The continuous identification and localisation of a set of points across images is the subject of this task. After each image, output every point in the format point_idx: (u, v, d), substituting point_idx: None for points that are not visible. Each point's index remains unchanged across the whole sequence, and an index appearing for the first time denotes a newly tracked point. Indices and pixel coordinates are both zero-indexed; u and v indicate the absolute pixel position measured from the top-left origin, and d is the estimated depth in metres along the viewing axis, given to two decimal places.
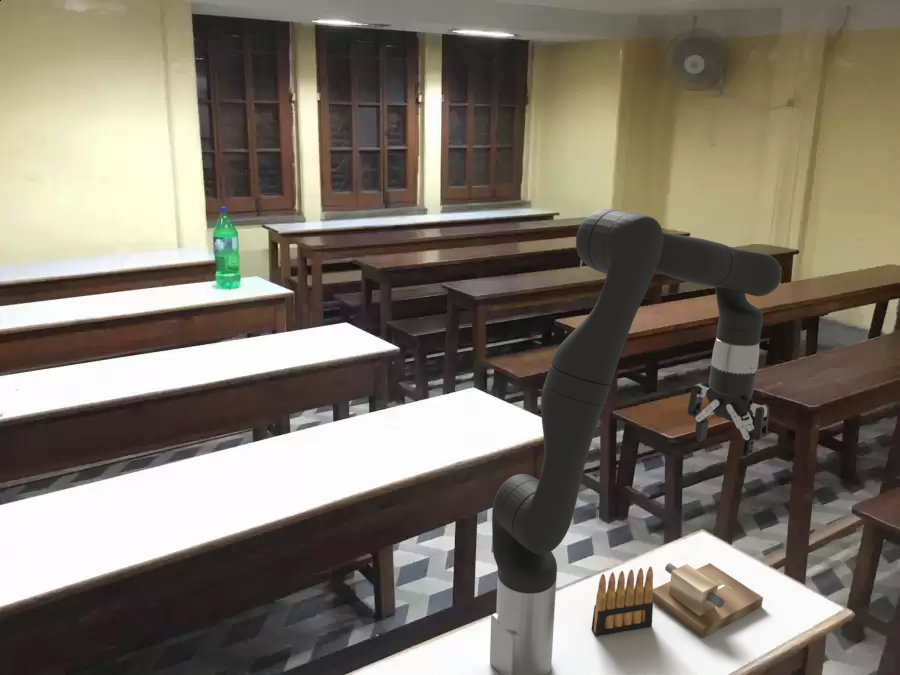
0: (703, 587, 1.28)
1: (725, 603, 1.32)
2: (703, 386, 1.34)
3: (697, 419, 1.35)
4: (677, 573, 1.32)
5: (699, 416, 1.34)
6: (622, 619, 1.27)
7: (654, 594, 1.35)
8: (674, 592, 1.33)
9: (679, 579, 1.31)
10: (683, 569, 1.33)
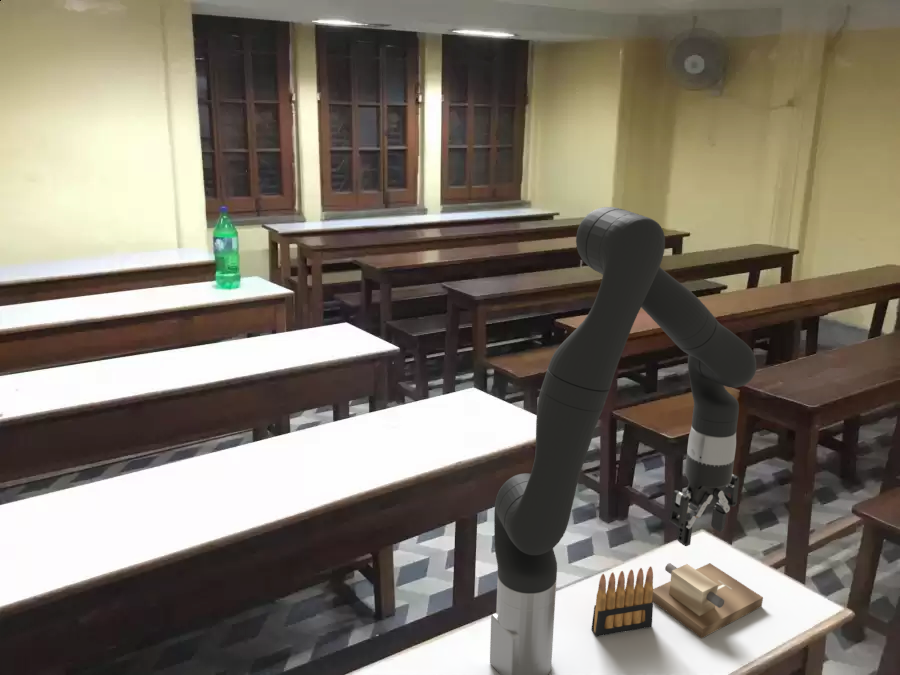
0: (703, 587, 1.28)
1: (725, 603, 1.32)
2: (683, 492, 1.22)
3: (689, 526, 1.23)
4: (677, 573, 1.32)
5: (690, 522, 1.23)
6: (622, 619, 1.27)
7: (654, 594, 1.35)
8: (674, 592, 1.33)
9: (679, 579, 1.31)
10: (683, 569, 1.33)
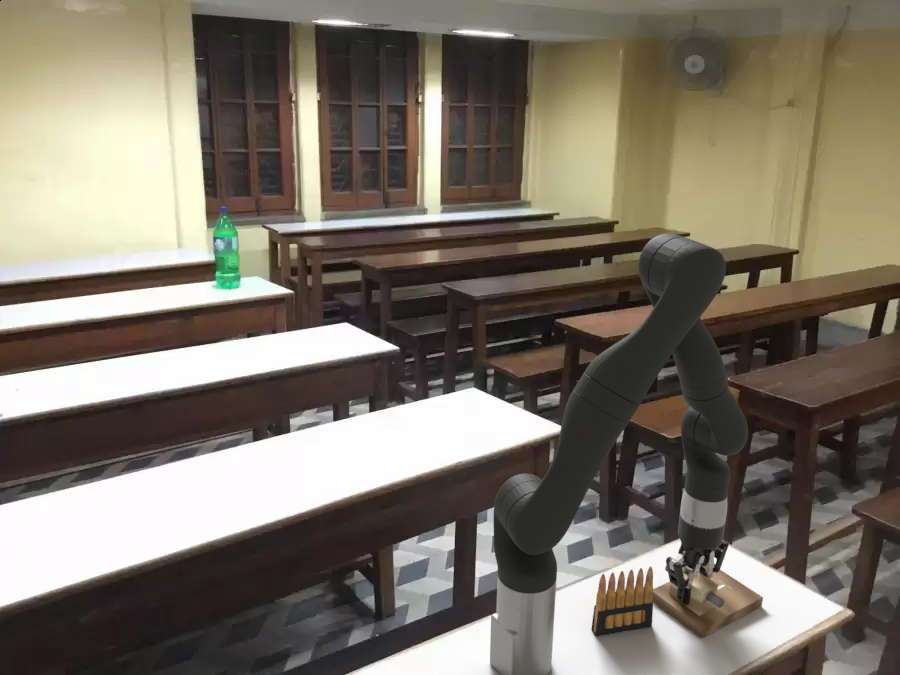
0: (703, 587, 1.28)
1: (725, 603, 1.32)
2: (675, 558, 1.27)
3: (689, 587, 1.28)
4: None
5: (690, 583, 1.28)
6: (622, 619, 1.27)
7: (654, 594, 1.35)
8: (674, 592, 1.33)
9: None
10: None
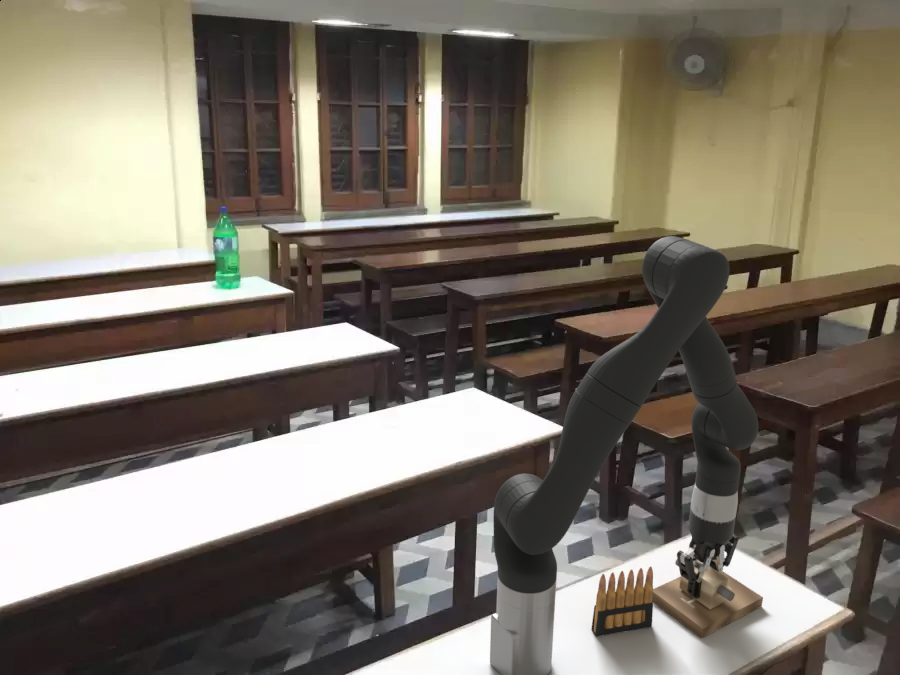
0: (713, 581, 1.29)
1: (725, 603, 1.32)
2: (685, 551, 1.28)
3: (699, 580, 1.30)
4: None
5: (700, 576, 1.30)
6: (622, 619, 1.27)
7: (654, 594, 1.35)
8: (685, 586, 1.34)
9: None
10: None
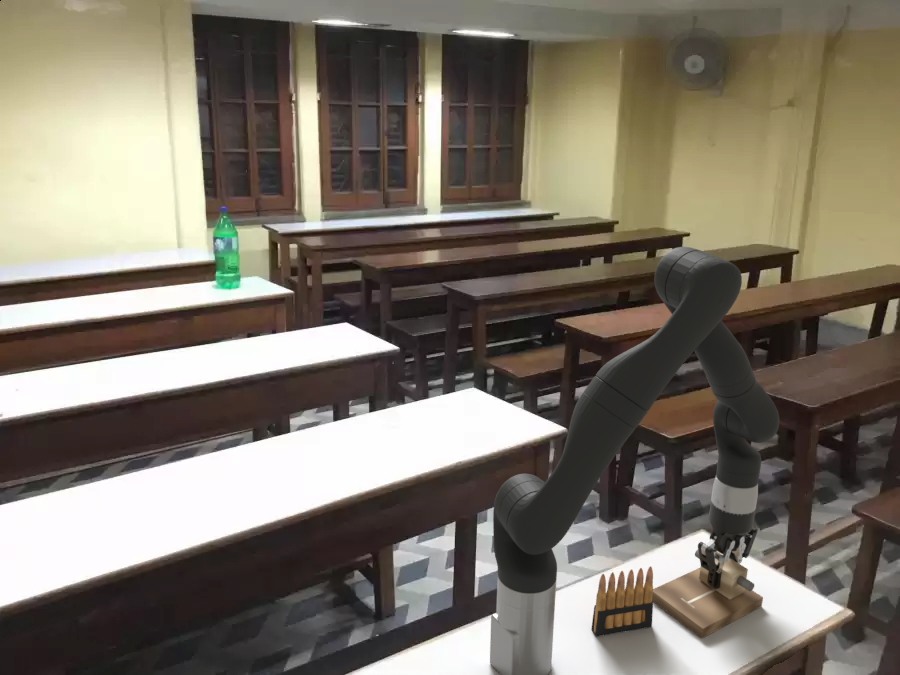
0: (733, 571, 1.32)
1: (725, 603, 1.32)
2: (706, 543, 1.30)
3: (719, 571, 1.32)
4: None
5: (721, 567, 1.32)
6: (622, 619, 1.27)
7: (654, 594, 1.35)
8: (705, 577, 1.37)
9: None
10: None
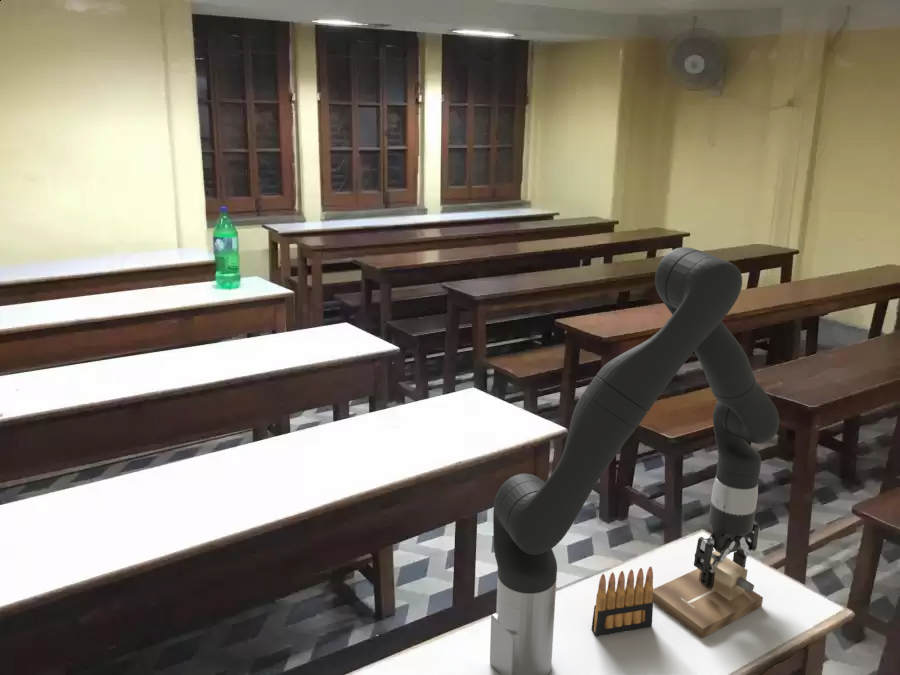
0: (733, 573, 1.32)
1: (725, 603, 1.32)
2: (707, 539, 1.30)
3: (712, 571, 1.31)
4: None
5: (714, 567, 1.31)
6: (622, 619, 1.27)
7: (654, 594, 1.35)
8: None
9: None
10: None
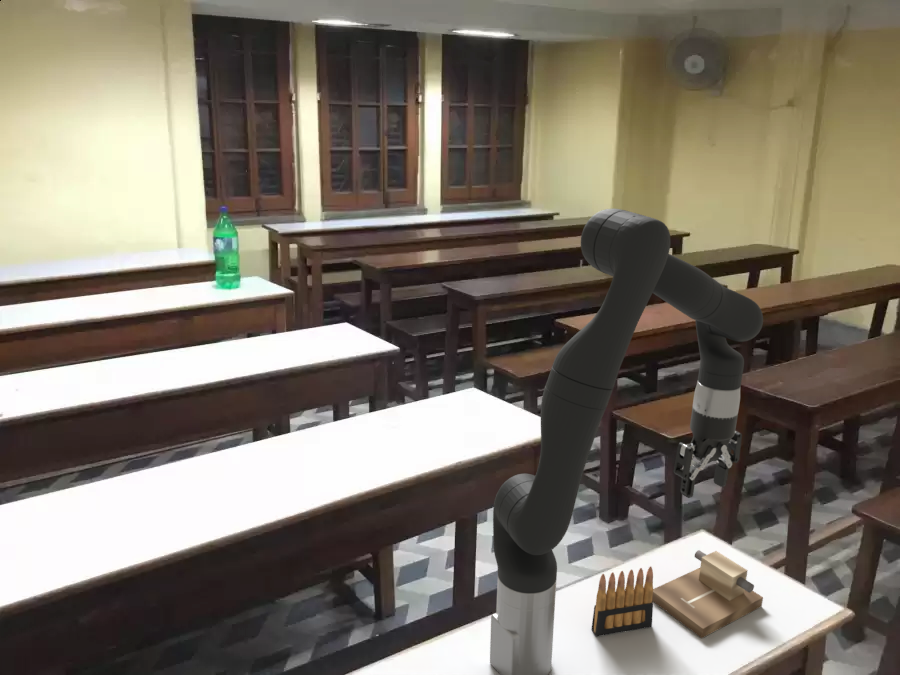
0: (733, 573, 1.32)
1: (725, 603, 1.32)
2: (687, 444, 1.27)
3: (692, 478, 1.28)
4: (707, 559, 1.36)
5: (694, 474, 1.28)
6: (622, 619, 1.27)
7: (654, 594, 1.35)
8: (704, 578, 1.37)
9: (709, 565, 1.35)
10: (713, 556, 1.37)
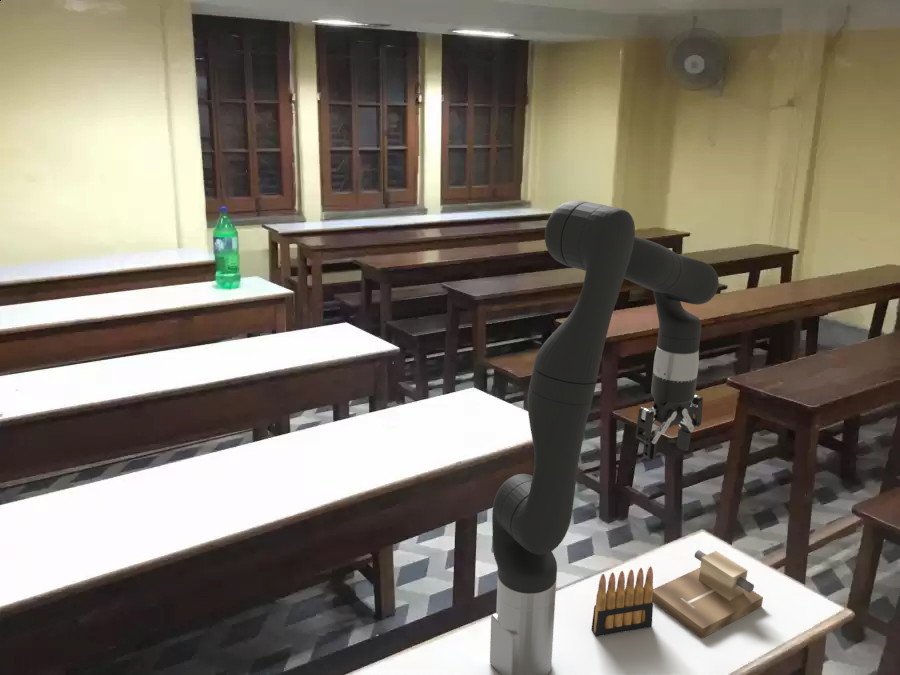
0: (733, 573, 1.32)
1: (725, 603, 1.32)
2: (648, 408, 1.29)
3: (654, 441, 1.30)
4: (707, 559, 1.36)
5: (655, 437, 1.30)
6: (622, 619, 1.27)
7: (654, 594, 1.35)
8: (704, 578, 1.37)
9: (709, 565, 1.35)
10: (713, 556, 1.37)
